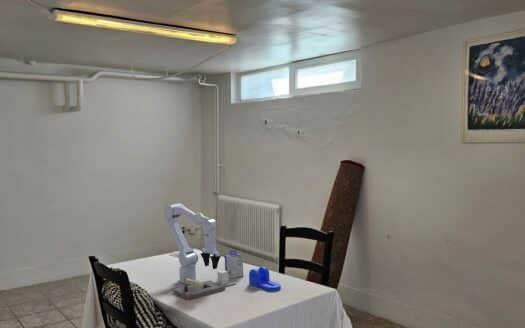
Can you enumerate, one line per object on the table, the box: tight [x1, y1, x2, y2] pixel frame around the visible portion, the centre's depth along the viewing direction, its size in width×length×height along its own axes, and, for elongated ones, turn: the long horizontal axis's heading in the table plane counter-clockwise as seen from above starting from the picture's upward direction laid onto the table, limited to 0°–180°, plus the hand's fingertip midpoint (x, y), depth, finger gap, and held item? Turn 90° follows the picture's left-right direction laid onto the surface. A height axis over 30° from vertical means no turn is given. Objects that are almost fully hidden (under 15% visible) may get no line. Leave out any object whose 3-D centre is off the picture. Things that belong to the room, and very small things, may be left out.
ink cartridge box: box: [223, 249, 244, 279], centre depth 268 cm, size 10×6×14 cm, turn 112°
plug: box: [216, 269, 230, 285], centre depth 255 cm, size 5×7×6 cm
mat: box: [214, 280, 236, 288], centre depth 254 cm, size 9×9×1 cm
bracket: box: [248, 265, 282, 292], centre depth 249 cm, size 18×8×9 cm, turn 42°
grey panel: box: [173, 279, 226, 301], centre depth 243 cm, size 14×22×2 cm, turn 130°
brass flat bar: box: [183, 278, 203, 291], centre depth 233 cm, size 2×14×6 cm, turn 45°
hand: (210, 267), depth 252 cm, fingers open, 7 cm apart
